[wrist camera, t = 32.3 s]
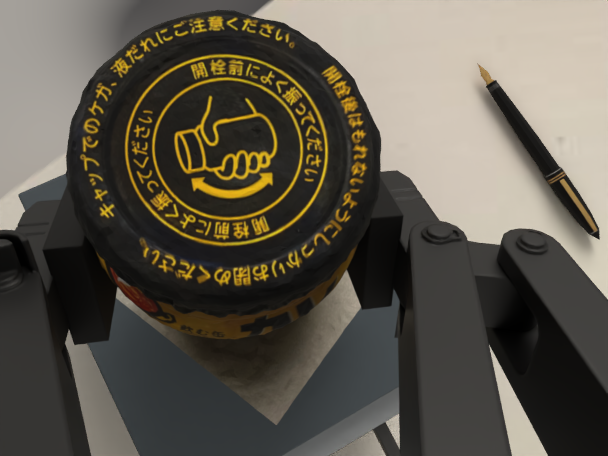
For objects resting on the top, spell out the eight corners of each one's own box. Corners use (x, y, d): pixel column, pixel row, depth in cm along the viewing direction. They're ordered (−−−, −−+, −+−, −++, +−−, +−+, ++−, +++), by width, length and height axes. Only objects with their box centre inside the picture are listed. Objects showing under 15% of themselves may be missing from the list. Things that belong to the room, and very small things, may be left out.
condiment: (220, 134, 21) (203, -114, 9) (389, 266, 21) (589, 183, 9) (92, 279, 19) (-124, 199, 8) (275, 423, 19) (340, 568, 8)
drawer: (418, 441, 31) (479, 478, 23) (242, 551, 29) (245, 632, 21) (279, 178, 33) (293, 133, 25) (103, 262, 30) (60, 239, 23)
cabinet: (379, 353, 32) (438, 363, 23) (189, 462, 30) (170, 522, 21) (270, 147, 34) (284, 78, 25) (81, 234, 31) (17, 193, 22)
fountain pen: (466, 71, 37) (476, 61, 35) (479, 64, 37) (489, 53, 36) (586, 245, 36) (602, 242, 34) (599, 236, 36) (615, 232, 34)
